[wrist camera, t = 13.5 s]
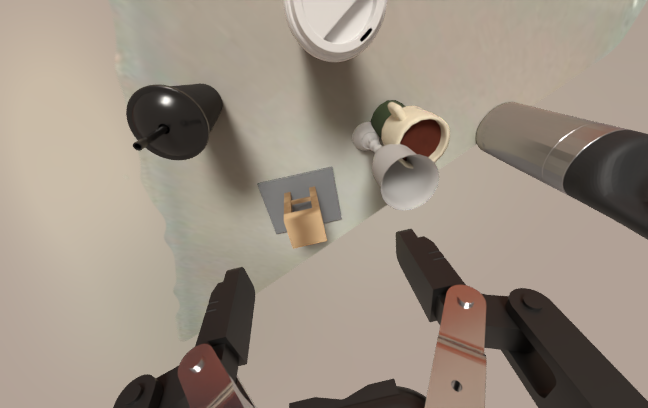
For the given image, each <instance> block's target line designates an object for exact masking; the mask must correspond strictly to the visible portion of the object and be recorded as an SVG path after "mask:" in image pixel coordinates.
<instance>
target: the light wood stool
mask: <svg viewBox="0 0 648 408" xmlns="http://www.w3.org/2000/svg"><path fill="white" fill-rule="evenodd" d="M309 191H310V196H309V197H305V198H300V199H296V200H292V196H291V192H288V193H284V224H285V227H286V229H287V232H288V235H289V238H290V241H291V244H292V247H293V249H294V248H298V247H302V246H307V245H311V244H316V243H320V242H324V241H327V238H326V233H325V228H324V223H323V219H322V214H321V210H320V207H319V202H318V197H317V192H316V188H315V186H314V187H310V188H309ZM308 201H311V204H312V208H309V209H305V210H301V211H296V212H292V205H295V204H299V203H303V202H308Z"/></svg>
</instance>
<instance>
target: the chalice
mask: <svg viewBox="0 0 648 408" xmlns="http://www.w3.org/2000/svg"><path fill="white" fill-rule="evenodd" d="M352 140H353V143H354V145H355V146H356V147H357V148H358V149H360V150H372V151H374V153H375V155H374V158H373V164H372V172H373V176H374V178H375V180H376V181H377V183H378V184H379V186H380V187H381V194H382V197H383V199H384V201H385V202H386V203H387V205H389V206H391V207H392V208H394V209H398V210H411V209H414V208H417V207H419V206H421V205H422V204H424V203H425V202H427V201H428V200H429V198H430V197H431V196H432V195H433V193H434V192H435V190H436V188H437V186H438V181H439V172H438V168H437V166H436V164H435V163H434V162H433V161H432V160H431V159H430V158H428V157H426V156H423V155H420V154H416V153H415V152H413V151H412V150H411V149H410V148H408V147H407V146H405V145H401V144H388V145H385V146H382V145H380V142H379V141H380V137H379V136H378V134H377V133H376V132H375V130H374V129H373V127H372V126H371V122H364V123H361V124H360V125H358V126H357V127H356V129H355V130H354V132H353V137H352ZM404 157H406V158H407V162H408V163H410V164H412V165H413V169H411V168H407V167H405V166H404V165H403V164H402V163H400V162H399V161H398V160H399V159H402V158H404Z"/></svg>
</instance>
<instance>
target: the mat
mask: <svg viewBox="0 0 648 408" xmlns="http://www.w3.org/2000/svg"><path fill="white" fill-rule="evenodd" d="M314 186H315V188H316V192H317V197H318V202H319V207H320V210H321V214H322V219H323V223H326V222H331V221H335V220H339V219H342V218H341V213H340V207H339V202H338V196H337V191H336V185H335V180H334V174H333V169H332V167H328V168H323V169H319V170H315V171H310V172H306V173H301V174H297V175H293V176H288V177H284V178H279V179H275V180H271V181H266V182H262V183H258V187H259V190H260V192H261V195H262V198H263V200H264V203H265V205H266V208H267V211H268V213H269V216H270V218H271V221H272V224H273V226H274V229H275V231H276V234H278V233H283V232H287V229H286V227H285V224H284V193H288V192H291V196H292V200H296V199H300V198H305V197H309V196H310V191H309V188H310V187H314ZM309 208H312V204H311V201H308V202H303V203H299V204H295V205H292V212H296V211H301V210H305V209H309Z"/></svg>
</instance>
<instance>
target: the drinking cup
mask: <svg viewBox="0 0 648 408" xmlns="http://www.w3.org/2000/svg"><path fill="white" fill-rule="evenodd" d="M221 110H222V100H221V97H220V95H219V93H218V92H217V91H216V90H215V89H214V88H212V87H211V86H209V85H206V84H193V85H181V86H166V85H150V86H146V87H143V88H141V89H139V90H137V91H136V92H135V93H134V94H133V95H132V96H131V98H130V99H129V102H128V105H127V112H126V114H127V121H128V124H129V127H130V129H131V131H132V133H133V134H134V136H135V137H136V139H137V140H138V141H137V142H135V143H134V144H133V147H134V148H135V149H136V150H142V149H143V148H147V149H148V150H149V151H151V152H152V153H154V154H156V155H158V156H160V157H163V158H166V159H171V160H186V159H190V158H193V157H195V156H197V155H198V154H199V153H201V152H202V151H203V149H204V148H205V146H206V145H207V143H208V140H209V133H210V131H211V129H212V127H213V126H214V124H215V122H216V120H217V118H218V116H219V114H220V112H221Z"/></svg>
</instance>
